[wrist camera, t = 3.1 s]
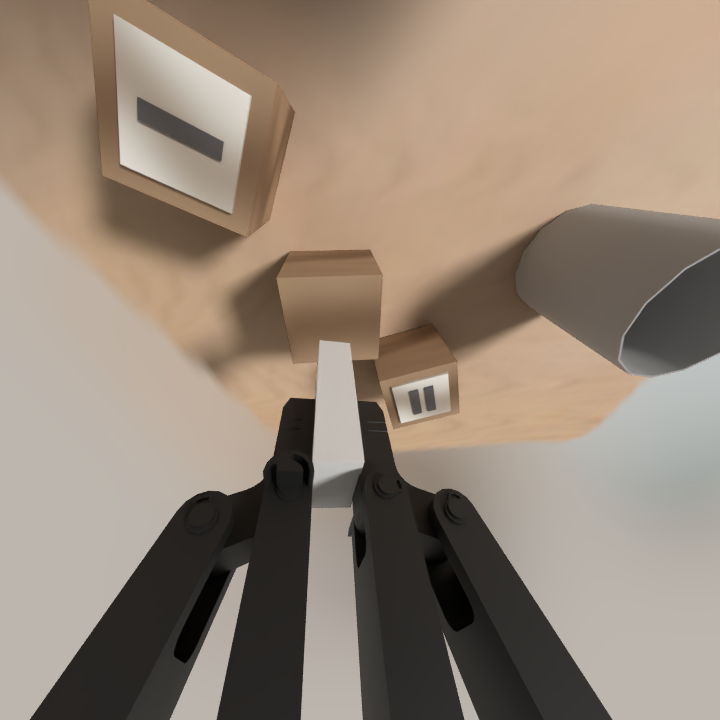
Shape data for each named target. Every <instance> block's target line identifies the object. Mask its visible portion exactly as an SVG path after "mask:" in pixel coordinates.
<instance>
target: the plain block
mask: <svg viewBox="0 0 720 720" xmlns="http://www.w3.org/2000/svg"><path fill="white" fill-rule="evenodd" d="M382 277H383V275H382V273H381V271H380V269H379V267H378V265H377V263H376V261H375V259H374V257H373V255H372V253H371V251H370V250H334V251H291V252H290V253H289V254H288V256H287V258H286V260H285V262H284V264H283V266H282V268H281V270H280V272H279V274H278V276H277V278H276V279H277V284H278V289H279V294H280V299H281V304H282V309H283V315H284V320H285V325H286V330H287V335H288V340H289V345H290V350H291V356H292V361H293V364H295V363H313V362H318V353H319V342H320V340H323V341H333V342H343V343H350V348H351V356H352V360H368V359H378V354H379V335H380V316H381V296H382Z"/></svg>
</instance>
